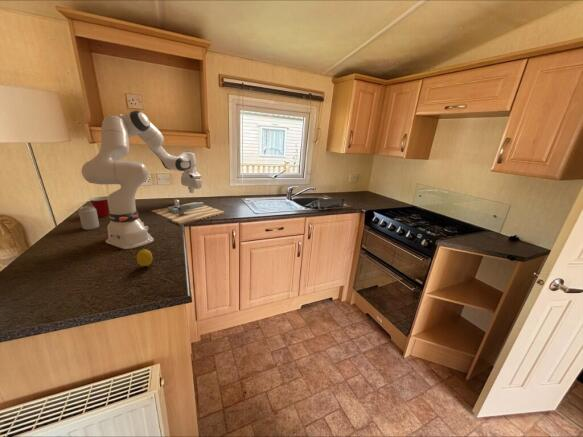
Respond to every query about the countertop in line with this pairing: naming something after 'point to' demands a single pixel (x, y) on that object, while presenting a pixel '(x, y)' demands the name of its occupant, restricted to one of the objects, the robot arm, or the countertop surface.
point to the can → (88, 217)
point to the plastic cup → (101, 206)
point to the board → (189, 214)
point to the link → (194, 205)
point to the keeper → (183, 209)
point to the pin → (176, 203)
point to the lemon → (144, 257)
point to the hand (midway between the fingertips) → (191, 192)
